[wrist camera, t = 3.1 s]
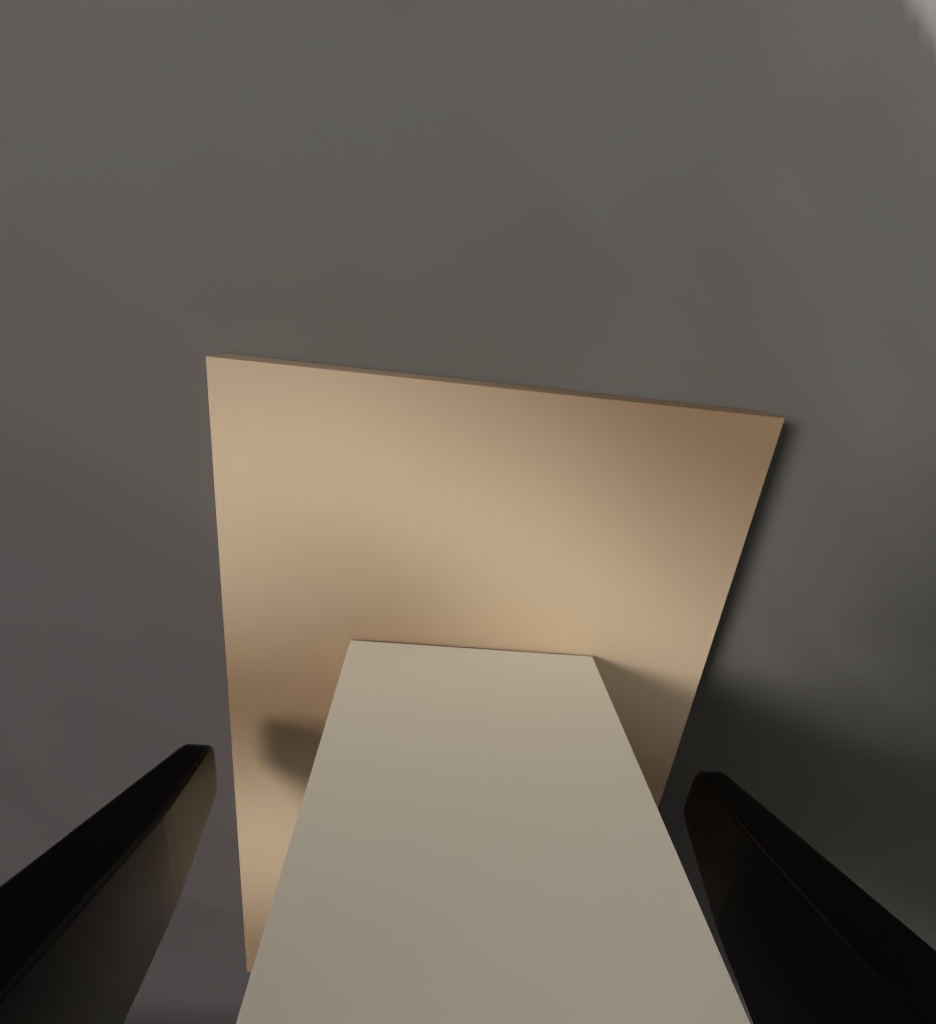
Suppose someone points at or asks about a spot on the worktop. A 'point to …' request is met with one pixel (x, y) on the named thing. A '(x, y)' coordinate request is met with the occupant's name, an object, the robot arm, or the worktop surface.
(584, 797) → the stub
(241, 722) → the board
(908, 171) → the worktop surface
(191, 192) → the worktop surface
